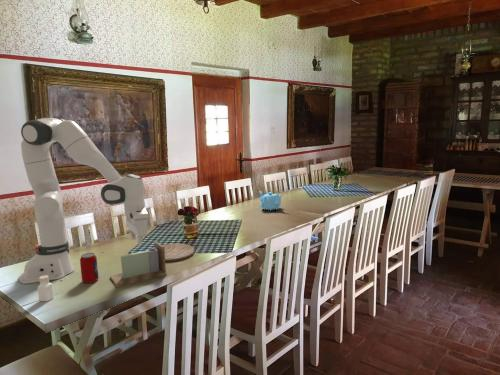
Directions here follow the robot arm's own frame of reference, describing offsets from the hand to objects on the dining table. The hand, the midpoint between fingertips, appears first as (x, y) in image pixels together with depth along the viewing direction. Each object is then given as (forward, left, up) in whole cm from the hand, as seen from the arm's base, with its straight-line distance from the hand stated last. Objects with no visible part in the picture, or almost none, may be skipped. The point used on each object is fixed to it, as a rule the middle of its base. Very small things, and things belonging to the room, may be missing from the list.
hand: (136, 241), depth 167 cm
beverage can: (-19, +8, -16) cm, 27 cm away
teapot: (+124, +69, -17) cm, 142 cm away
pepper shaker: (-37, -1, -17) cm, 41 cm away
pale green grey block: (+1, 0, -15) cm, 15 cm away
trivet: (+23, +20, -17) cm, 34 cm away
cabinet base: (0, 0, -16) cm, 16 cm away
